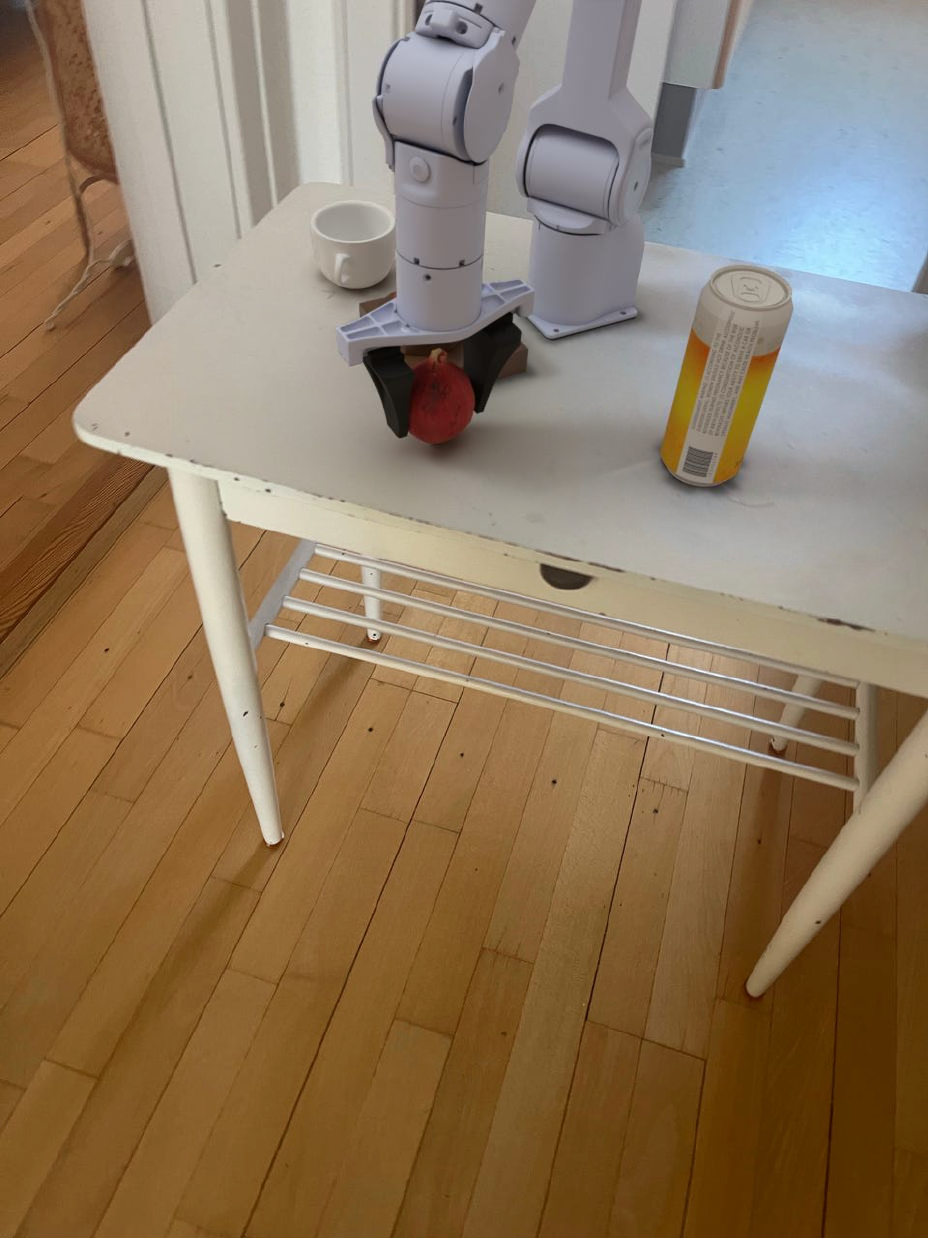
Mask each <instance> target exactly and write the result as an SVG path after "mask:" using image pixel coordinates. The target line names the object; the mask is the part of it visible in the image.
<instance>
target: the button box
mask: <svg viewBox="0 0 928 1238" xmlns="http://www.w3.org/2000/svg"><path fill="white" fill-rule="evenodd" d="M395 292H396V291H393V292H390V293H389V294H387V295H386V296H383V297H380V298H375V299H372V300H366V301H363V302H359V303H358V312H359V313H358V314H359V318H361V317H363V316H364V315H366V314H368V313H370V312H372V311H373V310H375V309H377V308H379V307H380V306H382V305H384V304H386V303H387V302H389V301H391V300H393V297H394V293H395ZM400 347H401V352H402V353H404V355H405V362H406V363H407V364H408V365H409V366H410V367H411V368H412V367H414V366H415V365H416V364H418V363H419V362H421V361H424V360H427V359H428V358H429V357H430V355H431V352H432V351H433V350H436V349H438V348H440V349H442V350H444V351H445V352H446V353H447V357H446V359H447V360H449V361H451V362H453V363H454V364H456V365H457V366H459V367H460V368H461V369H462V370H463V362H464V356H463V342H462V340H459V341H455V342H449V343H435V344H419V345H403V346H400ZM528 357H529V348H528V347H527V346H526V345H525V343H523V342H522V341H521V344H520V346H519V347H518V349H517V350H516V351H515V352H514V353H513V354H512V355H511V357H510V358H509V359H508V361H507V362H506V364H505V365H504V367H503V368H502V370H501V372H500V373H499V375H498V377H497V379H496V381H498V380H501V379H503V378H507V377H511V376H515V375H518V374H522V373H525V372H527V366H528Z"/></svg>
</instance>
